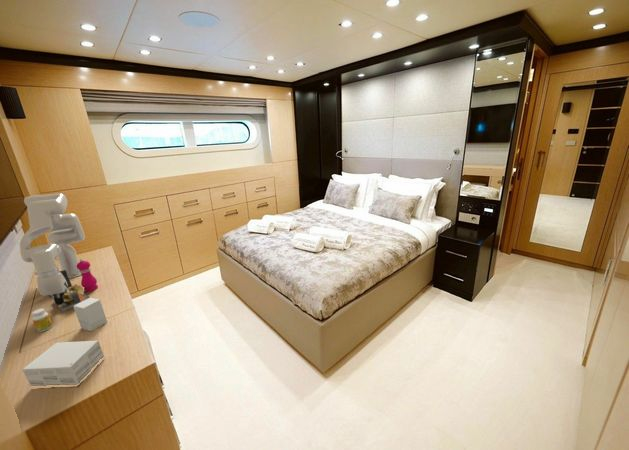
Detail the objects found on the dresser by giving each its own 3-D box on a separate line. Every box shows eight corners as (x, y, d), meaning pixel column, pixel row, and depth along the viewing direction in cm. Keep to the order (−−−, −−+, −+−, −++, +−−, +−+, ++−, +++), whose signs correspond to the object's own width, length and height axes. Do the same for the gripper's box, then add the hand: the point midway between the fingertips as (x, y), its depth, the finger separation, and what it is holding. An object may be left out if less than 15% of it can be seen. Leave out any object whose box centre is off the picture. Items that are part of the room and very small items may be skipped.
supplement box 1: (106, 358, 105) (99, 339, 102) (78, 387, 93) (70, 367, 90) (64, 360, 105) (56, 341, 102) (30, 389, 93) (20, 369, 90)
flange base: (54, 302, 145) (50, 293, 143) (81, 292, 154) (78, 283, 153) (62, 312, 136) (59, 302, 134) (91, 300, 145) (88, 291, 144)
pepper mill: (102, 286, 161) (92, 256, 155) (91, 292, 154) (81, 261, 148) (91, 285, 161) (81, 256, 155) (80, 292, 155) (69, 261, 148)
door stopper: (58, 288, 160) (52, 271, 156) (71, 285, 163) (65, 267, 160) (58, 294, 153) (51, 276, 149) (71, 290, 157) (65, 272, 153)
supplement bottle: (42, 333, 121) (34, 315, 118) (34, 331, 122) (26, 313, 119) (55, 325, 126) (49, 308, 123) (47, 323, 127) (40, 306, 124)
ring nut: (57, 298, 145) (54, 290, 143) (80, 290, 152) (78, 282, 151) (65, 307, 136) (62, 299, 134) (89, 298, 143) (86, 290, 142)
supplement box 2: (107, 321, 127) (100, 299, 123) (91, 332, 121) (83, 308, 117) (97, 319, 130) (90, 297, 126) (80, 328, 123) (72, 305, 119)
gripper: (24, 278, 127) (38, 310, 133) (61, 273, 131) (73, 305, 137) (35, 271, 134) (48, 302, 140) (70, 267, 138) (81, 297, 143)
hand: (60, 303), depth 138 cm, fingers closed
